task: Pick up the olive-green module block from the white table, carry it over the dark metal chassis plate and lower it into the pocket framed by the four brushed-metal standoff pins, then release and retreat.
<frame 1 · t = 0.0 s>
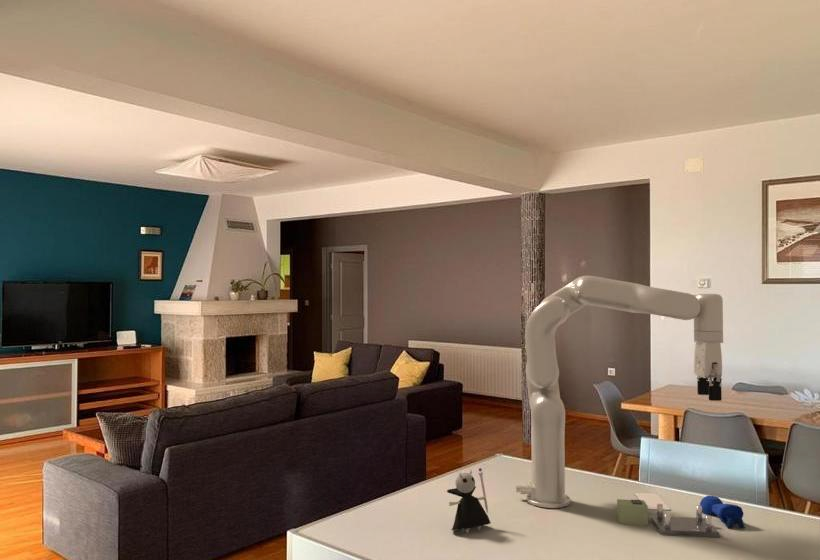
hand: (709, 397, 179), 31 cm above the table, fingers open, 9 cm apart
module: (632, 521, 169), on the table
toy 2: (469, 529, 164), on the table
chassis: (683, 528, 163), on the table
smartphone: (651, 503, 184), on the table
toy: (720, 520, 170), on the table
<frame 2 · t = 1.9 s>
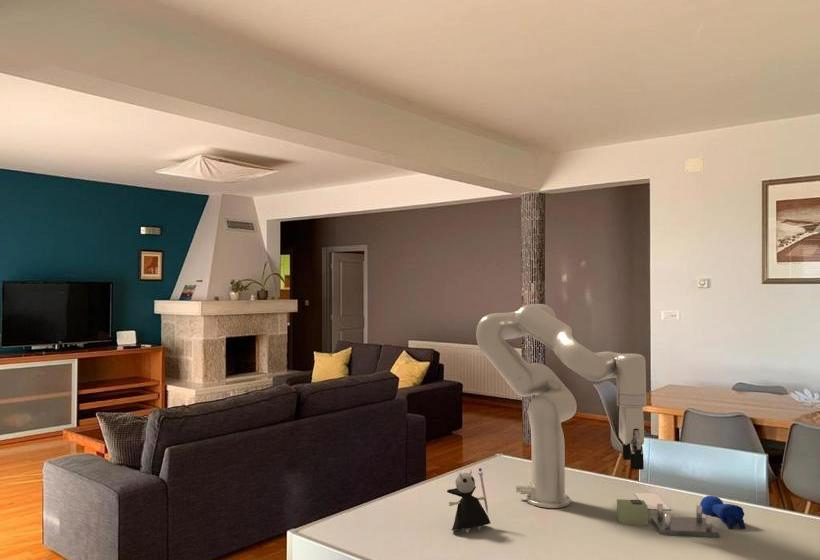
hand: (633, 464, 169), 15 cm above the table, fingers open, 9 cm apart
nothing on the table moved.
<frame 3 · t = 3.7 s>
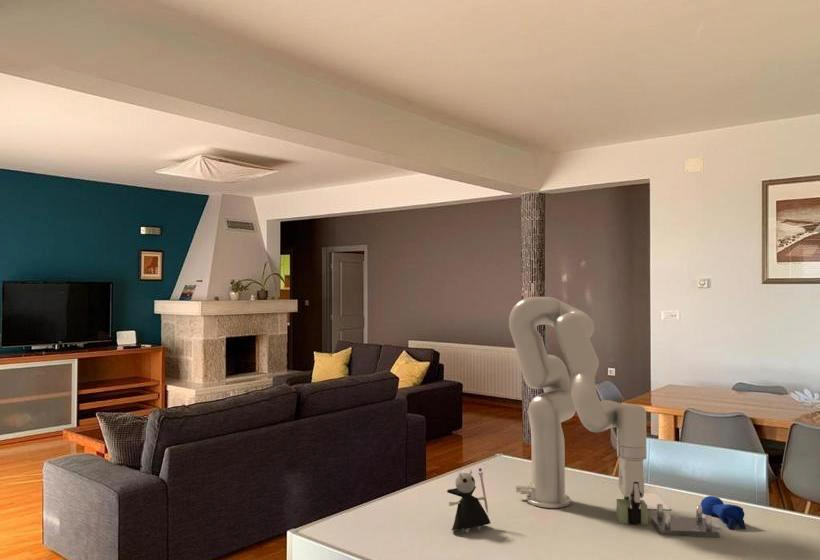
hand: (632, 519, 169), 0 cm above the table, fingers closed on module, 4 cm apart
module: (631, 520, 169), on the table, touching gripper
everything else where it was.
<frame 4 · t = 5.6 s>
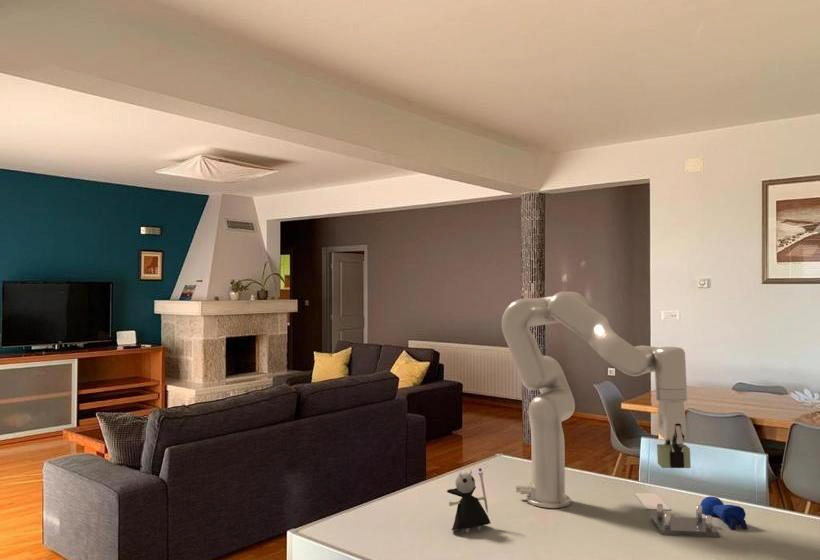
hand: (674, 464, 164), 16 cm above the table, fingers closed on module, 4 cm apart
module: (674, 465, 164), point 16 cm above the table, touching gripper
everything else where it was.
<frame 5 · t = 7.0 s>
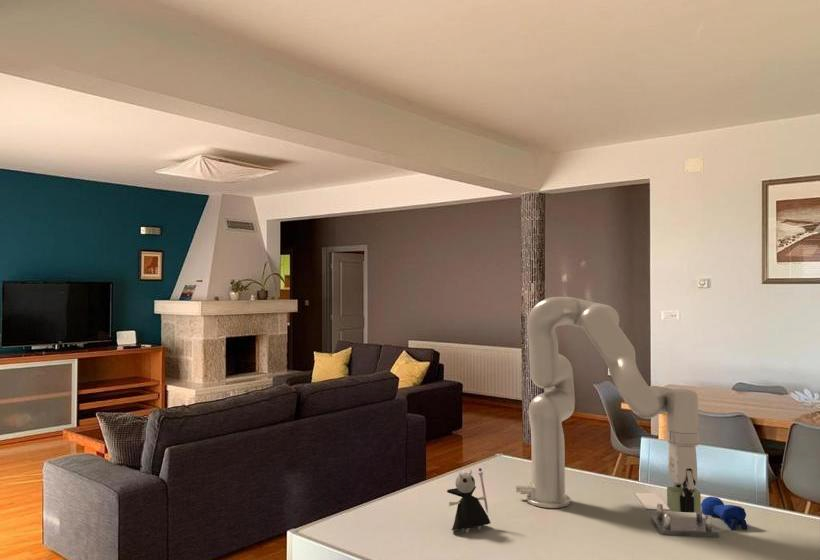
hand: (684, 507, 163), 5 cm above the table, fingers closed on module, 4 cm apart
module: (683, 509, 163), point 5 cm above the table, touching gripper
everything else where it was.
when the fingers open (2 cm above the table, at t = 7.8 s): module stays where it is, resting on chassis.
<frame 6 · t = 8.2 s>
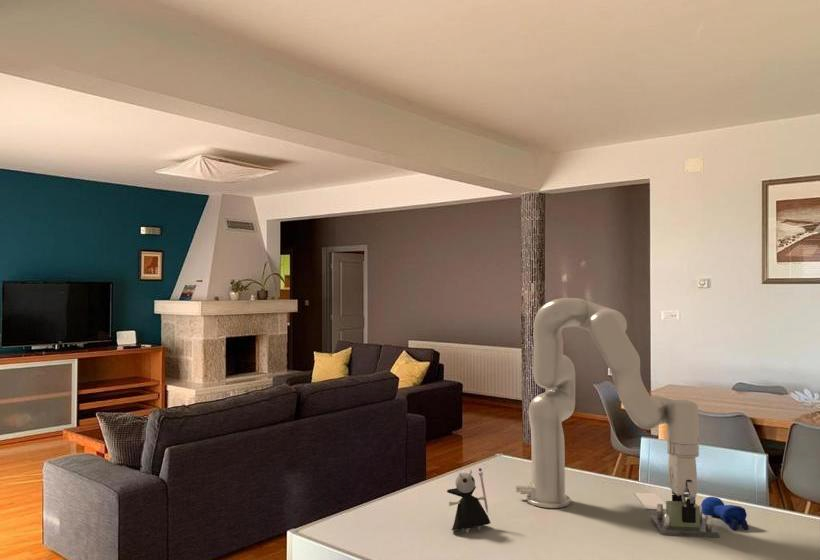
hand: (683, 515, 163), 3 cm above the table, fingers open, 8 cm apart
module: (682, 523, 163), point 1 cm above the table, touching chassis
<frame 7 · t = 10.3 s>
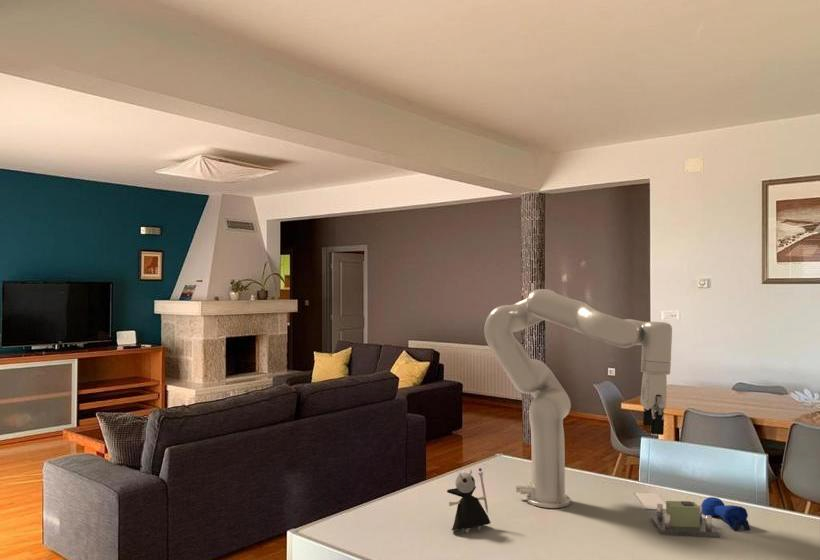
hand: (652, 429, 172), 24 cm above the table, fingers open, 9 cm apart
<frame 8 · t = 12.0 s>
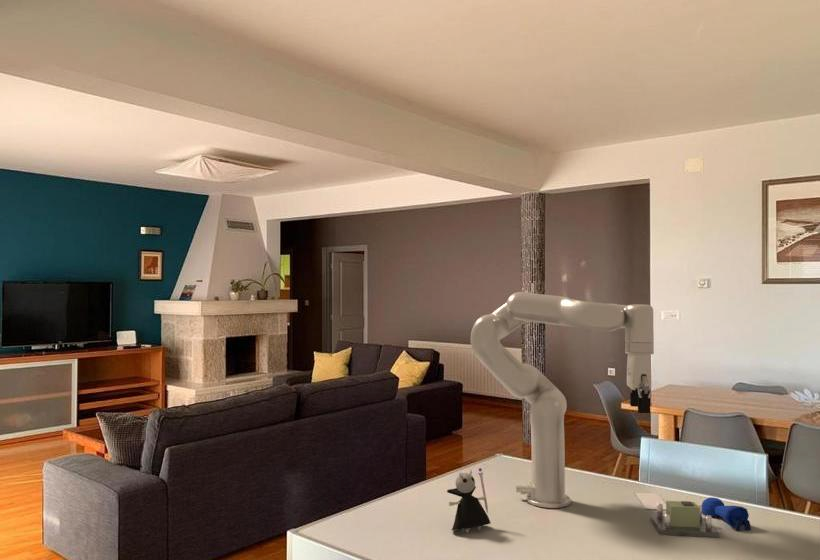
hand: (640, 409, 177), 28 cm above the table, fingers open, 9 cm apart
at the end: module 0.2 cm off-centre on the chassis, point 1.2 cm above the chassis's base; module tilted 0°; the gripper is holding nothing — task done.
